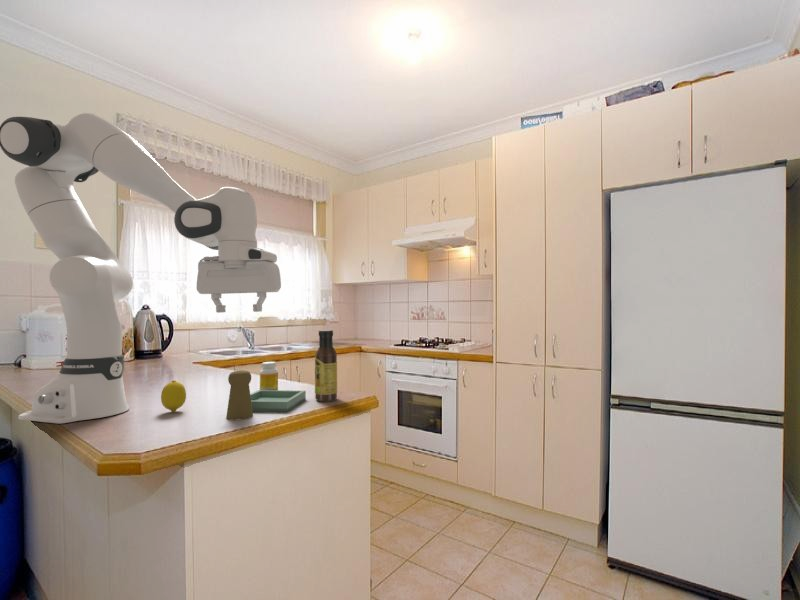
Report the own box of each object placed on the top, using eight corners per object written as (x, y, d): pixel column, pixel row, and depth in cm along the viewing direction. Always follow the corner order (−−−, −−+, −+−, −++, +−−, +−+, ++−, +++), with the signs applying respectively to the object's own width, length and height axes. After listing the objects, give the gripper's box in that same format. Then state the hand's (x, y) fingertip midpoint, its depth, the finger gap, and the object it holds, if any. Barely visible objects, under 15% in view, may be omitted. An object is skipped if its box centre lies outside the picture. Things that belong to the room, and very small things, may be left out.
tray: (234, 410, 102) (234, 401, 102) (258, 398, 116) (258, 390, 116) (287, 411, 101) (287, 401, 101) (305, 399, 115) (305, 390, 115)
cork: (243, 420, 93) (243, 373, 93) (220, 419, 94) (220, 372, 95) (258, 413, 99) (258, 369, 99) (236, 412, 100) (236, 368, 101)
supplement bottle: (257, 393, 124) (257, 362, 124) (275, 391, 127) (275, 360, 127) (261, 396, 119) (262, 364, 120) (280, 394, 122) (280, 362, 122)
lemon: (155, 413, 100) (156, 381, 100) (175, 408, 105) (175, 377, 105) (171, 415, 98) (171, 382, 98) (191, 410, 103) (191, 379, 103)
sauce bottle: (315, 397, 117) (315, 329, 117) (337, 396, 118) (336, 329, 118) (314, 402, 110) (314, 330, 111) (337, 401, 111) (337, 330, 112)
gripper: (190, 255, 96) (191, 313, 95) (272, 251, 93) (273, 311, 93) (206, 258, 102) (206, 312, 102) (283, 255, 99) (284, 311, 99)
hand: (239, 312), depth 97 cm, fingers open, 8 cm apart
